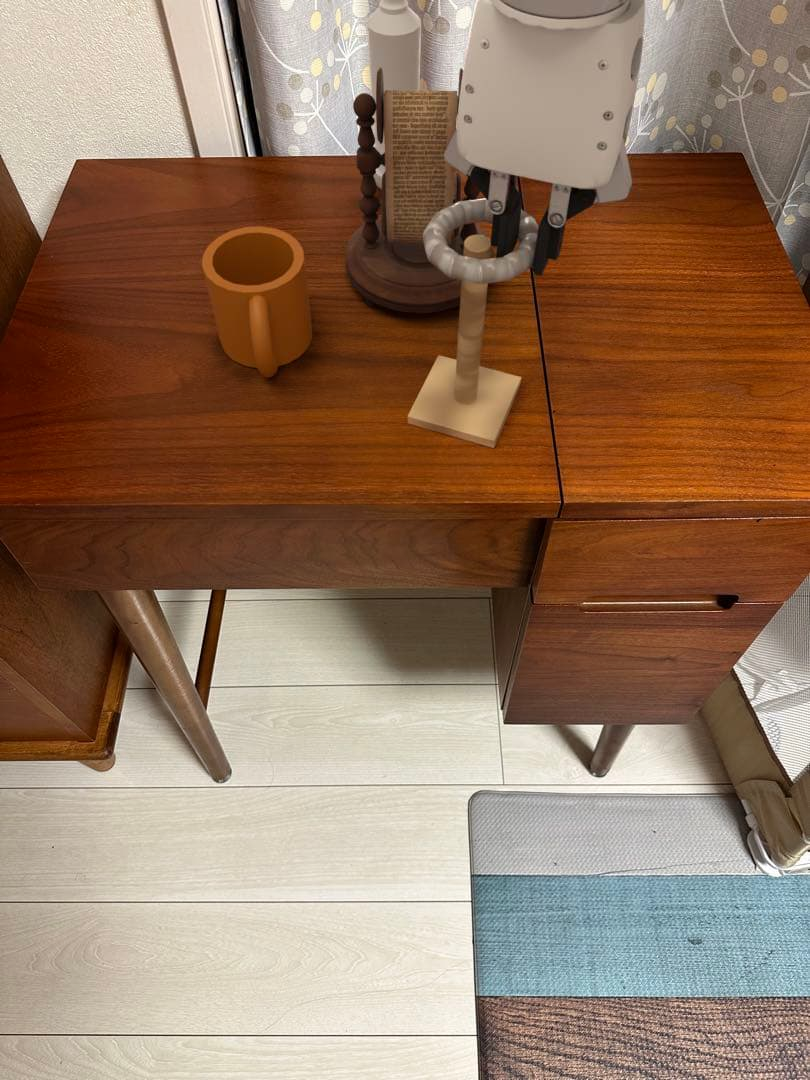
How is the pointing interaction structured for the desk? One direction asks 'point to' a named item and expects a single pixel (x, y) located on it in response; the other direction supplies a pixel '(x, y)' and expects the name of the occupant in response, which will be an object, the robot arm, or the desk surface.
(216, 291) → the mug
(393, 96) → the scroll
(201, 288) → the desk surface
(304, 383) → the desk surface
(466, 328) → the wooden peg stand
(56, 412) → the desk surface
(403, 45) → the bottle
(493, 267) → the ring
